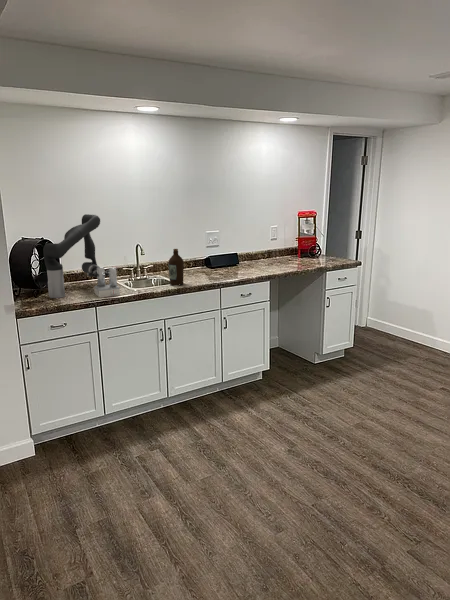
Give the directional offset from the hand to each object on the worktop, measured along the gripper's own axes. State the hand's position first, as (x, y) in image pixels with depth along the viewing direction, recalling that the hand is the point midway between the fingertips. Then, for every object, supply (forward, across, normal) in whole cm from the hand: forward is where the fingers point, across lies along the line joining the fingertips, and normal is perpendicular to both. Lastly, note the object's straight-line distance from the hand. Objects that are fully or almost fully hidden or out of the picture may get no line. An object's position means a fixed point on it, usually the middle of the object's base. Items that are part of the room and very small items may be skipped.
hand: (101, 275), depth 287 cm
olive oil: (-5, +53, +13) cm, 55 cm away
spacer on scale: (+4, +6, +8) cm, 10 cm away
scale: (+1, +2, +12) cm, 13 cm away
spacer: (-2, 0, +7) cm, 8 cm away
